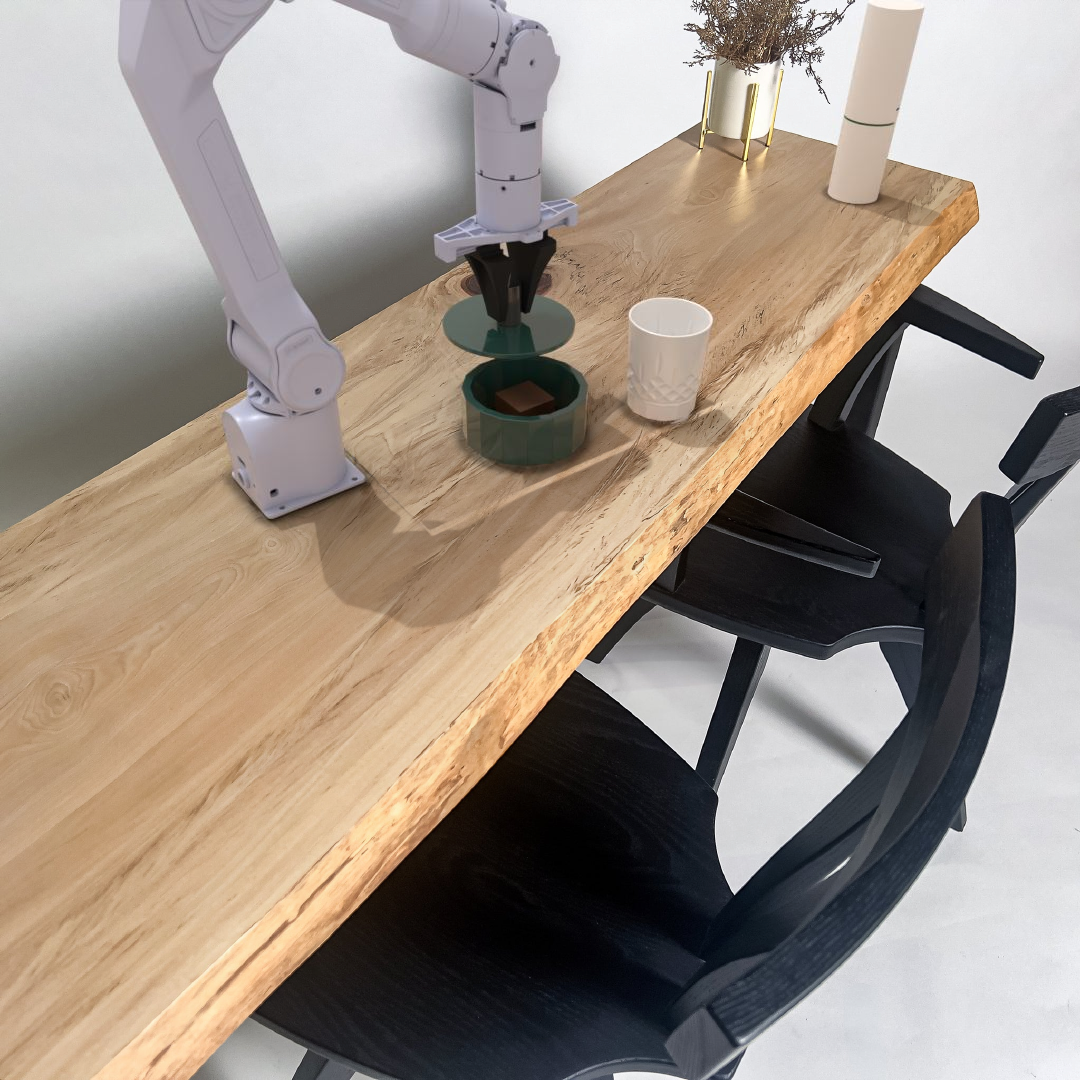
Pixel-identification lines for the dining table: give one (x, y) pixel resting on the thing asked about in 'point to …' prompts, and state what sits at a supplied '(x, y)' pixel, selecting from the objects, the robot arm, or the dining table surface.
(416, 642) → the dining table surface
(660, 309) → the white cup
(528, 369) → the crock
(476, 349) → the lid
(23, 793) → the dining table surface
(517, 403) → the block
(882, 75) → the cylindrical container
